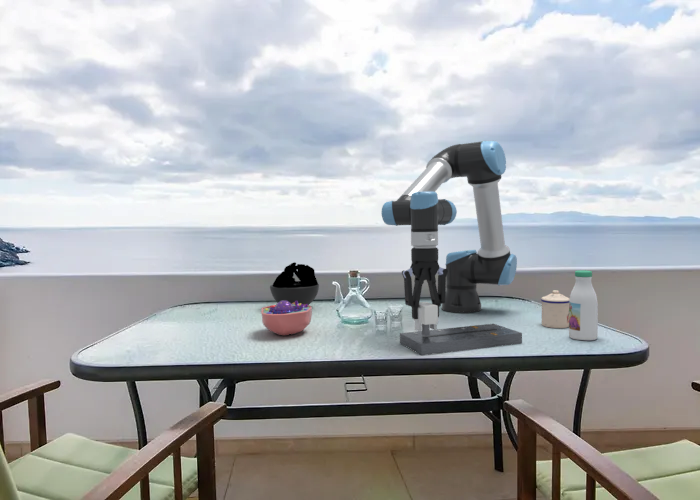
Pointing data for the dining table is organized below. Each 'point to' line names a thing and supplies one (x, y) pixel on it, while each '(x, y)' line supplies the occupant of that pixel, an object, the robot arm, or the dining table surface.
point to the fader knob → (428, 316)
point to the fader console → (460, 338)
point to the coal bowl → (295, 285)
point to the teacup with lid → (555, 310)
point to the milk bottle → (583, 308)
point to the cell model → (286, 317)
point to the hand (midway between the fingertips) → (425, 329)
